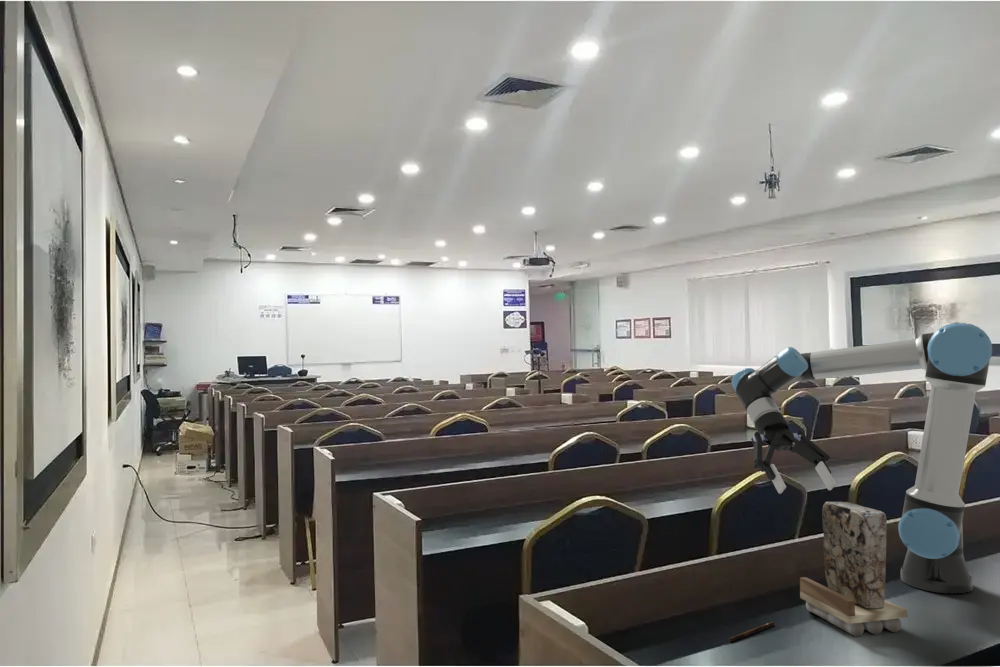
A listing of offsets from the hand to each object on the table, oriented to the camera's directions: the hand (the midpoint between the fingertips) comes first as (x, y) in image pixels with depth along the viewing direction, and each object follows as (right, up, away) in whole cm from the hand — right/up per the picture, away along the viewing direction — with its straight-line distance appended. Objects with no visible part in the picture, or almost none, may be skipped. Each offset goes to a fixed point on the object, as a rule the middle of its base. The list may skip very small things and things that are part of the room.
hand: (807, 488), depth 160 cm
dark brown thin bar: (-21, -26, -21) cm, 39 cm away
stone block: (+3, -21, -14) cm, 25 cm away
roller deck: (+3, -25, -15) cm, 29 cm away
